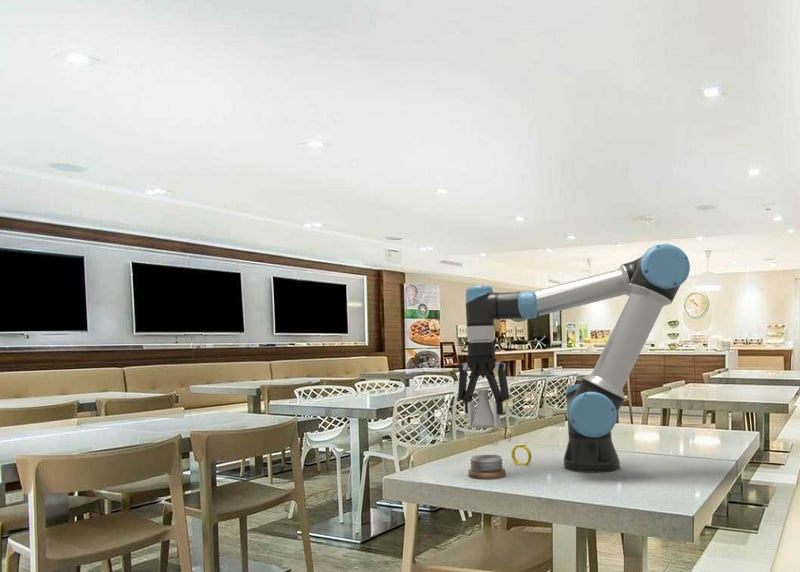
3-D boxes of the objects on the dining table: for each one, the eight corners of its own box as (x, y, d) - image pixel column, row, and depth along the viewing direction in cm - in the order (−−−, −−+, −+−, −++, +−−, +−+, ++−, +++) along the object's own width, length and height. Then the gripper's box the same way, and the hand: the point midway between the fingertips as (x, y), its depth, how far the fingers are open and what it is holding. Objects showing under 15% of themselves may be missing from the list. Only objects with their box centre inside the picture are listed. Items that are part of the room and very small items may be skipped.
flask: (496, 428, 172) (495, 390, 173) (469, 428, 174) (468, 391, 175) (498, 425, 179) (497, 389, 180) (472, 425, 181) (471, 389, 182)
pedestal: (511, 473, 177) (510, 455, 177) (496, 480, 168) (495, 461, 169) (478, 471, 182) (477, 453, 182) (462, 477, 173) (461, 458, 174)
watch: (511, 465, 191) (508, 445, 192) (516, 464, 194) (513, 443, 194) (529, 465, 188) (526, 444, 189) (533, 464, 190) (531, 443, 191)
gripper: (519, 340, 177) (524, 426, 174) (455, 343, 187) (458, 423, 185) (509, 340, 170) (513, 429, 168) (442, 343, 181) (445, 426, 178)
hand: (484, 426), depth 176 cm, fingers closed on flask, 7 cm apart
